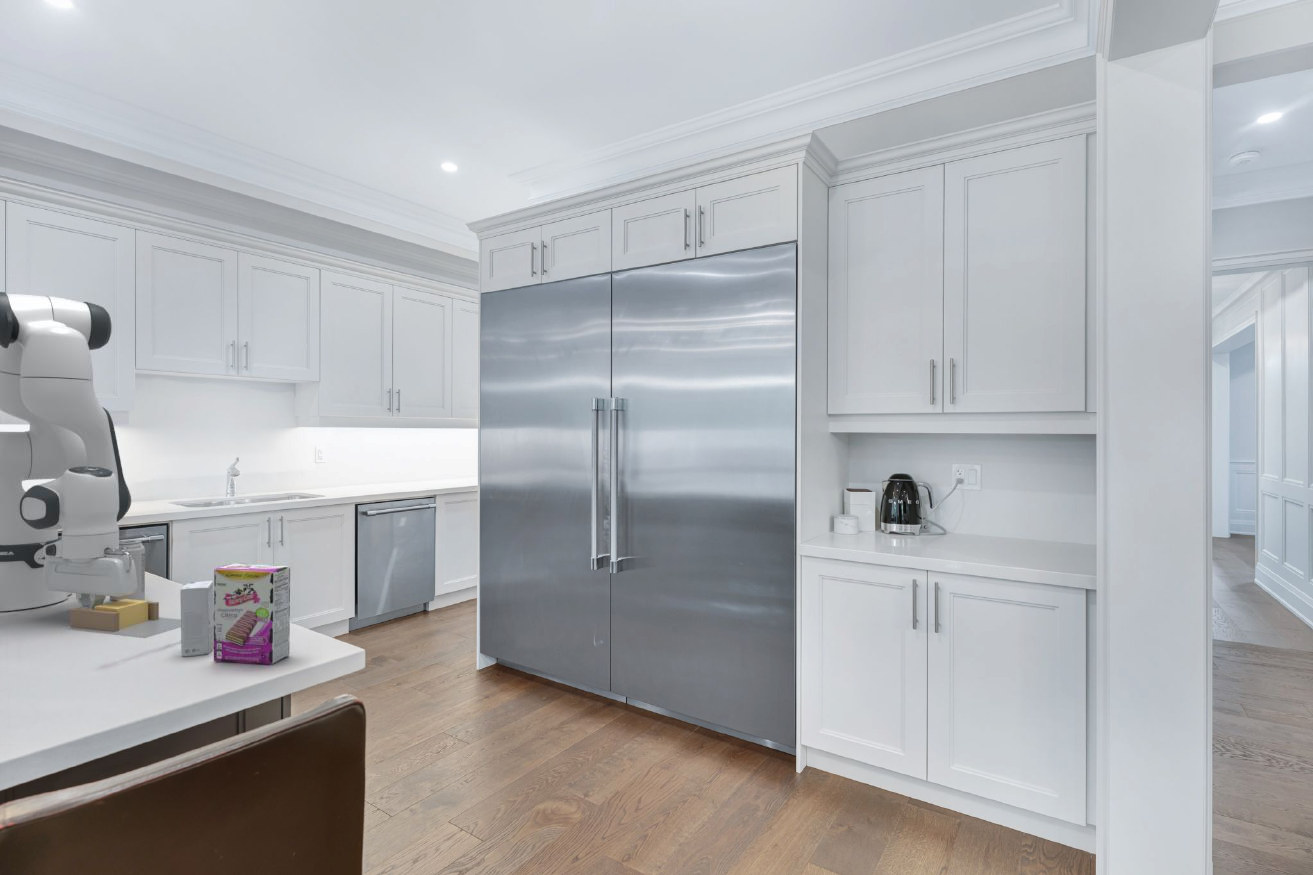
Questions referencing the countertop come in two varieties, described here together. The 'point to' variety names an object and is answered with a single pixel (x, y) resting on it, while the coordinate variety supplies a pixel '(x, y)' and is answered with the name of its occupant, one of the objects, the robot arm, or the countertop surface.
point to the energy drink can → (138, 557)
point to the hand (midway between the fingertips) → (90, 614)
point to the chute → (110, 622)
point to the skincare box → (197, 618)
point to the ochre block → (127, 611)
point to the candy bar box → (251, 613)
